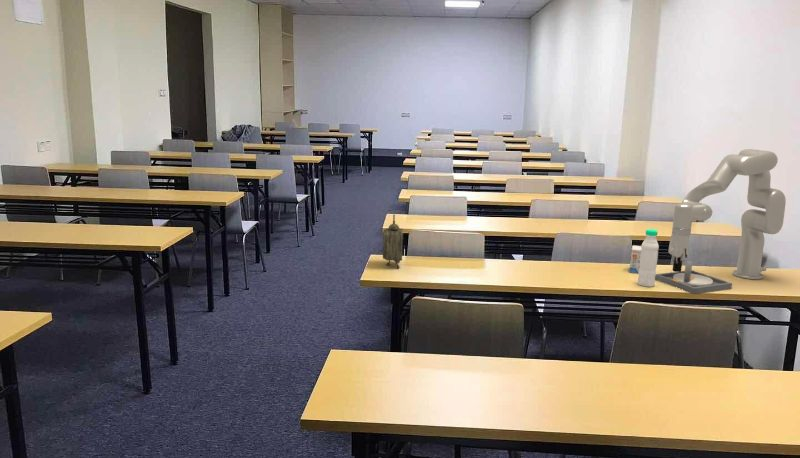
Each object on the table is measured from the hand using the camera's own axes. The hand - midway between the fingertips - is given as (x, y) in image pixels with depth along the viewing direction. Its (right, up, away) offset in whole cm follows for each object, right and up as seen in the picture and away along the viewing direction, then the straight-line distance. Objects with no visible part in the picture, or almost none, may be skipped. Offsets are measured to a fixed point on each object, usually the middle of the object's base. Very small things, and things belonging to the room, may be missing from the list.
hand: (676, 271), depth 272 cm
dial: (+6, -4, -2) cm, 8 cm away
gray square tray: (+6, -6, -2) cm, 9 cm away
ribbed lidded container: (-128, +1, +19) cm, 130 cm away
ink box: (-10, -2, +17) cm, 20 cm away
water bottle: (-15, -6, -4) cm, 17 cm away
